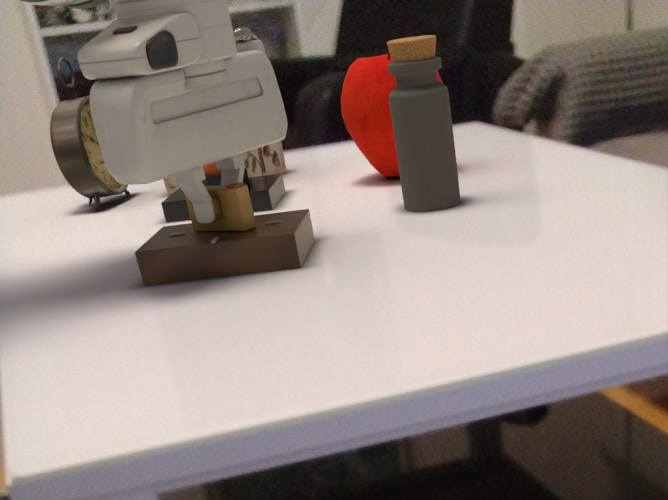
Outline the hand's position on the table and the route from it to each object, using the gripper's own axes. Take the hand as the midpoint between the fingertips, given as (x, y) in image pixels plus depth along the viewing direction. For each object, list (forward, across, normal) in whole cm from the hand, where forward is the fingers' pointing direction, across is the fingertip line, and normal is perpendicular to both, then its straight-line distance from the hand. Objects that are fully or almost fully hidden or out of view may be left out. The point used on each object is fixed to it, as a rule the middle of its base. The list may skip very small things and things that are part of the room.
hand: (221, 217), depth 91 cm
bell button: (+1, -22, -18) cm, 29 cm away
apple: (+4, -37, -4) cm, 37 cm away
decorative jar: (+4, -35, -29) cm, 45 cm away
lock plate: (+4, 0, 0) cm, 4 cm away
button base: (+4, -22, -18) cm, 29 cm away
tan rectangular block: (+1, 0, 0) cm, 1 cm away
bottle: (+4, -22, +9) cm, 24 cm away
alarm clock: (+4, -24, -40) cm, 47 cm away
